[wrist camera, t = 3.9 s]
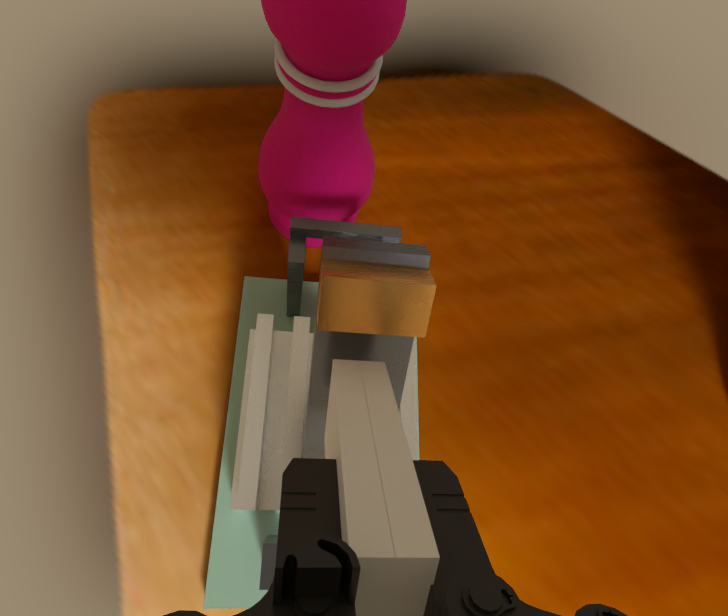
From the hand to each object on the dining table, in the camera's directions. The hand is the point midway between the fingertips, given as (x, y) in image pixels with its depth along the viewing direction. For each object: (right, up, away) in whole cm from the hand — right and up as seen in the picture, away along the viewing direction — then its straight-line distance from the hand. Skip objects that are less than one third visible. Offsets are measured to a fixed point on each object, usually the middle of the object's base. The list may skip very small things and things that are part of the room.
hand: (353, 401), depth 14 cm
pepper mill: (-3, +10, +21) cm, 23 cm away
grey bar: (0, -2, +3) cm, 4 cm away
